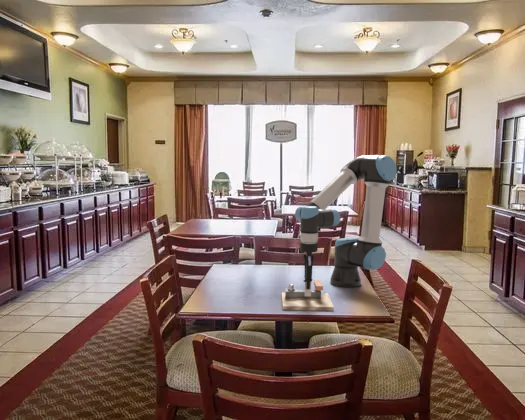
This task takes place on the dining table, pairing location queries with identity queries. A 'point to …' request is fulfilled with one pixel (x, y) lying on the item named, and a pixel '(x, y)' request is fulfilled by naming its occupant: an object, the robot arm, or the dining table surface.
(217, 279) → the dining table surface
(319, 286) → the keeper
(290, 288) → the pintle
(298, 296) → the link
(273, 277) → the dining table surface
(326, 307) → the board
